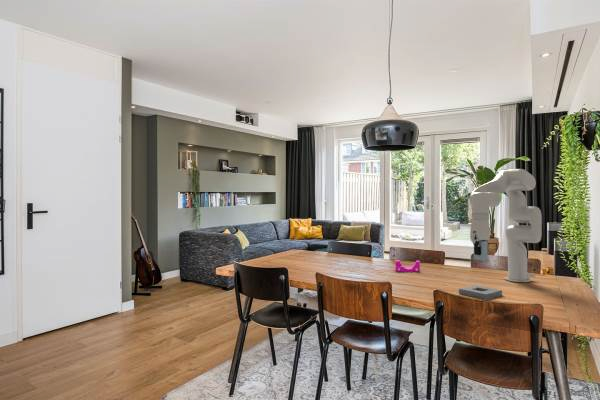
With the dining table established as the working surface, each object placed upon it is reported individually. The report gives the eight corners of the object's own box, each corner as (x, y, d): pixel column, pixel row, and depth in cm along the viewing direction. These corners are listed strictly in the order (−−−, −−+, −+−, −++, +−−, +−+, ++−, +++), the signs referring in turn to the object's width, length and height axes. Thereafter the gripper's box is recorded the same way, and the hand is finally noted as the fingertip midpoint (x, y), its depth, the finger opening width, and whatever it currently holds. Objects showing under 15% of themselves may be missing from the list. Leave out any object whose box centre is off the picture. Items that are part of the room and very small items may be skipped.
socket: (474, 289, 193) (474, 285, 193) (502, 295, 181) (502, 290, 181) (458, 293, 185) (458, 288, 185) (486, 299, 173) (486, 294, 173)
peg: (479, 258, 187) (478, 240, 187) (487, 259, 183) (487, 241, 183) (473, 259, 184) (473, 240, 184) (482, 260, 180) (482, 241, 181)
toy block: (396, 273, 239) (396, 261, 239) (395, 271, 245) (395, 260, 245) (420, 274, 236) (420, 262, 236) (419, 272, 243) (419, 260, 243)
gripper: (483, 216, 192) (483, 252, 191) (463, 217, 182) (463, 254, 182) (497, 217, 185) (497, 254, 185) (477, 217, 176) (477, 256, 176)
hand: (480, 253), depth 184 cm, fingers closed on peg, 4 cm apart
